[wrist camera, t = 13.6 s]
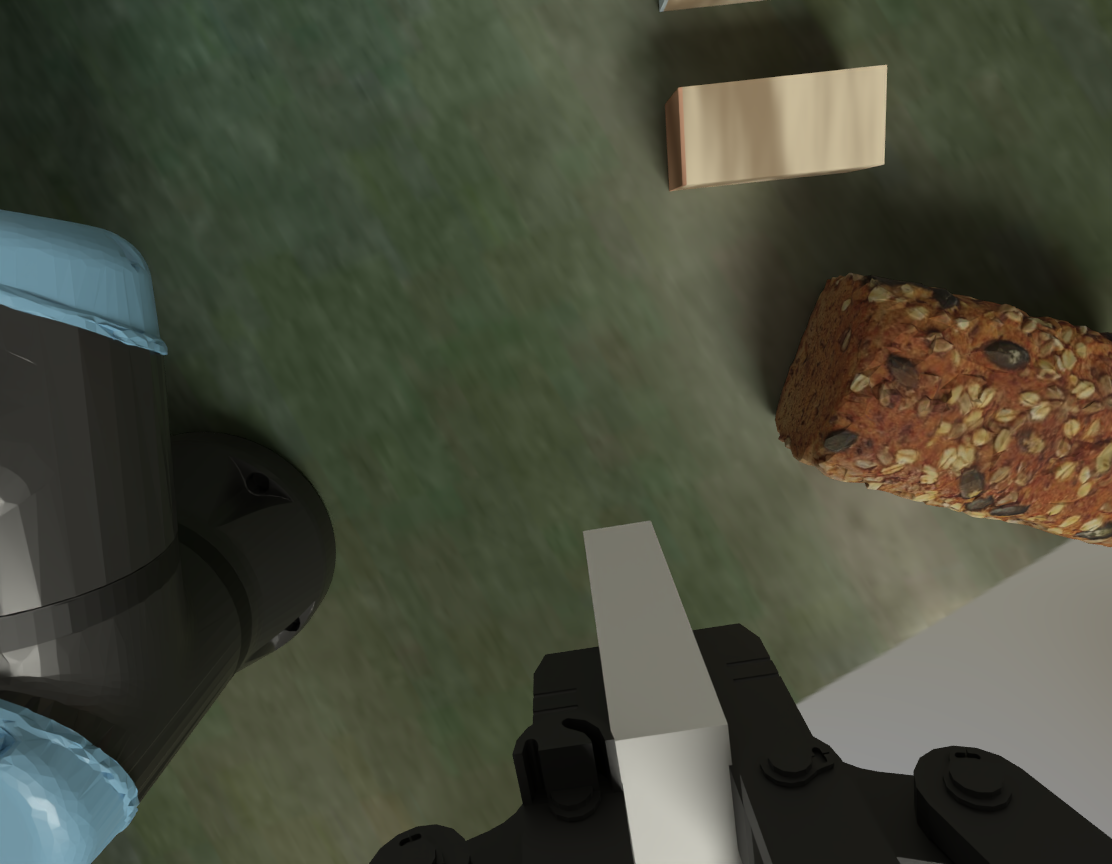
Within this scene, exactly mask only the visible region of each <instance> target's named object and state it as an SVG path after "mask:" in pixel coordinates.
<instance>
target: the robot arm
mask: <svg viewBox="0 0 1112 864" xmlns="http://www.w3.org/2000/svg"><path fill="white" fill-rule="evenodd" d="M164 355H168V350H167V346H166V344H165V342H164V341H163V340H162V339H161V338H160V333H159V326H158V320H157V313H156V306H155V299H154V292H153V285H152V279H151V274H150V270H149V268H148V265H147V263H146V261H145V259H144V258H143V256H142V255H141V254H140V252H139V251H138V250H137V249H136V248H135V247H134V246H133V245H132V244H131V243H129V242H128V241H127V240H125V239H124V238H122V237H120V236H119V235H117V234H115V233H113V232H110V231H108V230H105V229H102V228H97V227H93V226H88V225H84V224H79V223H74V222H69V221H63V220H58V219H52V218H47V217H41V216H35V215H30V214H24V213H18V212H12V211H6V210H0V864H91V863H92V862H93V860H94V859H95V858H96V857H97V856H98V855H99V854H100V853H101V851H102V850H103V849H104V848H105V847H106V846H107V845H108V844H109V842H110V841H111V840H112V839H113V838H114V837H115V836H116V835H117V834H118V833H120V832H121V831H123V830H124V829H125V828H126V827H127V826H128V825H129V824H130V822H131V821H132V819H133V818H134V816H135V813H136V812H137V811H138V808H136V807H137V806H138V805H139V803H140V802H141V800H142V799H143V798H144V796H145V795H146V794H147V792H148V791H149V789H150V788H151V787H152V785H153V784H154V783H155V781H156V780H157V779H158V777H159V776H160V775H161V773H162V772H163V771H164V769H165V768H166V767H167V765H168V764H169V762H170V761H171V760H172V758H173V757H174V756H175V754H176V753H177V752H178V750H179V749H180V748H181V746H182V745H183V744H184V742H185V741H186V739H187V738H188V737H189V735H190V734H191V733H192V731H193V730H194V729H195V727H196V726H197V725H198V723H199V722H200V721H201V719H202V718H203V716H204V715H205V714H206V712H207V711H208V710H209V708H210V707H211V706H212V704H213V703H214V702H215V700H216V699H217V698H218V696H219V695H220V693H221V692H222V691H223V689H224V688H225V687H226V685H227V684H228V682H229V681H230V680H231V678H232V677H233V676H234V674H235V673H236V672H238V671H240V670H242V669H243V668H245V667H247V666H249V665H250V664H252V663H254V662H256V661H258V660H259V659H261V658H263V657H265V656H266V655H268V654H270V653H272V652H273V651H275V650H277V649H278V648H280V647H281V646H283V645H284V644H286V643H287V642H289V641H290V640H291V639H292V638H293V637H294V636H296V635H297V634H298V633H299V632H300V631H301V630H302V629H303V628H304V626H305V625H306V624H307V623H308V621H309V620H310V619H311V617H312V616H313V614H314V613H315V611H316V610H317V608H318V607H319V605H320V604H321V602H322V601H323V599H324V597H325V595H326V593H327V591H328V589H329V586H330V584H331V581H332V577H333V573H334V568H335V558H336V549H335V539H334V533H333V529H332V525H331V522H330V519H329V516H328V514H327V511H326V509H325V507H324V505H323V503H322V501H321V499H320V498H319V496H318V494H317V493H316V492H315V490H314V489H313V487H312V486H311V485H310V483H309V482H308V481H307V480H306V479H305V478H304V477H303V475H302V474H301V473H300V472H299V471H298V470H296V469H295V468H294V467H293V466H292V465H291V464H290V463H288V462H287V461H286V460H284V459H283V458H282V457H280V456H279V455H277V454H276V453H274V452H272V451H271V450H269V449H267V448H265V447H263V446H261V445H259V444H257V443H255V442H252V441H249V440H247V439H244V438H240V437H237V436H233V435H228V434H223V433H214V432H191V433H183V434H178V435H174V436H170V427H169V415H168V403H167V391H166V379H165V367H164ZM583 534H584V541H585V549H586V556H587V563H588V570H589V577H590V585H591V592H592V599H593V606H594V613H595V621H596V628H597V635H598V642H599V647H593V648H586V649H580V650H573V651H567V652H560V653H553V654H547V655H545V656H544V658H543V660H542V661H541V663H540V665H539V666H538V668H537V670H536V671H535V673H534V690H533V695H534V698H533V714H534V715H533V725H531V726H529V727H528V728H527V729H526V730H525V731H524V733H523V734H522V735H521V736H520V737H519V738H518V740H517V742H516V745H515V748H514V751H513V754H512V755H513V759H514V764H515V769H516V773H517V778H518V783H519V788H520V792H521V797H522V802H523V804H522V805H521V807H520V808H519V809H518V810H517V812H516V813H515V814H514V815H512V816H511V817H510V818H509V819H508V820H506V821H505V822H504V823H502V824H501V825H499V826H497V827H495V828H493V829H492V830H490V831H488V832H485V833H483V834H481V835H479V836H476V837H474V838H472V839H469V840H467V841H465V839H464V838H463V837H462V836H461V835H460V834H458V833H457V832H456V831H455V830H454V829H452V828H448V827H444V826H441V825H437V824H436V825H427V826H418V827H415V828H413V829H410V830H408V831H406V832H403V833H401V834H399V835H397V836H396V837H394V838H393V839H392V840H390V841H389V842H388V843H387V844H385V845H384V846H383V847H382V848H380V850H379V851H378V852H377V854H376V855H375V856H374V858H373V859H372V860H371V862H370V863H369V864H1112V839H1111V838H1110V837H1109V836H1107V835H1106V834H1105V833H1104V832H1102V831H1101V830H1100V829H1098V828H1097V827H1096V826H1095V825H1093V824H1092V823H1091V822H1089V821H1088V820H1087V819H1086V818H1084V817H1083V816H1082V815H1080V814H1079V813H1078V812H1076V811H1075V810H1074V809H1073V808H1071V807H1070V806H1069V805H1068V804H1066V803H1065V802H1064V801H1062V800H1061V799H1060V798H1058V797H1057V796H1056V795H1054V794H1053V793H1052V792H1051V791H1050V790H1048V789H1047V788H1046V787H1044V786H1043V785H1042V784H1041V783H1039V782H1038V781H1037V780H1035V779H1034V778H1033V777H1032V776H1030V775H1029V774H1028V773H1026V772H1025V771H1024V770H1023V769H1021V768H1020V767H1018V766H1016V765H1015V764H1013V763H1011V762H1010V761H1008V760H1006V759H1005V758H1003V757H1001V756H999V755H996V754H993V753H990V752H987V751H984V750H981V749H978V748H971V747H961V746H949V747H943V748H938V749H933V750H931V751H930V752H928V753H927V754H925V755H924V756H922V757H920V759H919V761H918V763H917V765H916V767H915V769H914V776H913V775H904V774H895V773H885V772H877V771H872V770H866V769H861V768H858V767H855V766H853V765H850V764H847V763H844V762H842V760H841V758H840V757H839V756H838V755H837V754H836V753H835V752H834V750H833V749H832V748H831V747H830V746H829V745H827V744H825V743H824V742H822V741H820V740H818V739H817V738H815V737H813V736H812V734H811V732H810V730H809V728H808V726H807V725H806V723H805V721H804V719H803V717H802V715H801V713H800V712H799V710H798V708H797V706H796V704H795V702H794V701H793V699H792V697H791V695H790V693H789V691H788V689H787V688H786V686H785V684H784V682H783V680H782V678H781V676H780V677H779V674H778V671H777V669H776V667H775V665H774V663H773V662H772V660H770V656H769V654H768V652H767V650H766V649H765V647H764V645H763V643H762V641H761V639H760V638H759V637H758V636H756V635H755V634H754V633H752V632H751V631H749V630H748V629H747V628H745V627H744V626H742V625H741V624H740V623H738V624H732V625H725V626H718V627H712V628H705V629H699V630H692V629H691V626H690V623H689V621H688V618H687V616H686V613H685V610H684V608H683V605H682V602H681V600H680V597H679V594H678V592H677V589H676V586H675V584H674V581H673V579H672V576H671V573H670V571H669V568H668V565H667V563H666V560H665V557H664V555H663V552H662V550H661V547H660V544H659V542H658V539H657V536H656V534H655V531H654V528H653V526H652V523H651V521H645V522H639V523H632V524H626V525H620V526H613V527H607V528H600V529H594V530H587V531H583Z"/></svg>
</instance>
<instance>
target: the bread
mask: <svg viewBox="0 0 1112 864" xmlns="http://www.w3.org/2000/svg"><path fill="white" fill-rule="evenodd" d="M775 421H776V426H777V431H778V432H779V434H780V436H779V440H780V441H782V442H785V447H787V448H789V449H791V451H792V454H793V457H795V458H796V459H797V460H798V461H799V462H802V463H805V464H808V465H813V466H815V467H816V468H817V469H818V470H820V471H821V472H822V473H823V474H824V475H826V476H827V477H829V478H831V479H835V480H840V481H844V482H858V483H865V485H866V487H867V489H875V490H881V491H886V492H890V493H892V494H895V495H897V496H900V497H903V498H907V499H910V500H914V501H918V502H920V501H922V502H924V503H925V504H927V505H932V506H938V507H947V508H949V509H952V510H954V511H957V512H963V513H966V514H968V515H970V516H972V517H978V518H987V519H997V520H1002V521H1006V522H1009V523H1018V524H1024V525H1029V526H1031V527H1034V528H1037V529H1040V530H1043V531H1046V532H1049V533H1052V534H1056V535H1059V536H1063V537H1067V538H1072V539H1078V540H1082V541H1084V542H1086V543H1090V544H1099V545H1103V546H1107V547H1112V333H1109V332H1105V333H1098V332H1095V331H1093V330H1091V329H1089V328H1088V327H1086V326H1073V325H1071V324H1070V323H1069V322H1067V321H1062V320H1056V319H1053V318H1051V317H1030V316H1029V315H1028V314H1027V313H1026V312H1024V311H1022V310H1020V309H1018V308H1017V309H1016V308H1015V307H1014V306H1011V305H1008V304H1003V305H1001V304H997V303H993V302H988V301H983V300H978V299H975V298H972V297H969V296H963V295H955V294H951V293H950V292H949V291H947V290H946V289H945V288H936V287H926V286H925V285H923V284H922V283H914V282H907V281H900V280H892V279H887V278H882V277H878V276H873V275H870V276H862V275H859V274H853V273H849V274H848V275H846V276H845V277H844V276H841V275H839V277H832V279H827V282H826V285H825V288H824V290H823V291H822V292H821V294H820V296H819V298H818V300H817V303H816V305H815V307H814V309H813V311H812V314H811V316H810V318H809V322H808V326H807V328H806V330H805V332H804V334H803V336H802V339H801V342H800V345H799V348H798V351H797V354H796V357H795V359H794V361H793V363H792V364H791V366H790V368H789V373H788V375H787V378H786V381H785V384H784V387H783V390H782V393H781V396H780V399H779V403H778V406H777V411H776V418H775Z"/></svg>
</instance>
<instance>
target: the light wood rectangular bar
mask: <svg viewBox="0 0 1112 864" xmlns="http://www.w3.org/2000/svg"><path fill="white" fill-rule="evenodd" d="M754 1H763V0H659V11H660V12H663V11H672V10H681V9H690V8H699V7H708V6H717V5H727V4H736V3H745V2H754Z"/></svg>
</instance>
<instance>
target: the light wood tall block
mask: <svg viewBox="0 0 1112 864" xmlns="http://www.w3.org/2000/svg"><path fill="white" fill-rule="evenodd" d="M886 87H887V65H880V66H871V67H862V68H853V69H844V70H835V71H825V72H816V73H807V74H798V75H789V76H780V77H770V78H761V79H752V80H743V81H734V82H725V83H715V84H706V85H697V86H688V87H679V88H677V90H676V91H675V92H674V94H673V95H672V96H671V97H670V99H669V100H668V101H667V102H666V104H665V116H666V135H667V155H668V174H669V191H675V190H685V189H694V188H704V187H713V186H723V185H733V184H742V183H752V182H761V181H771V180H781V179H790V178H800V177H809V176H819V175H829V174H838V173H848V172H853V171H857V170H862V169H866V168H871V167H875V166H880V165H884V157H885V122H886Z"/></svg>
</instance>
